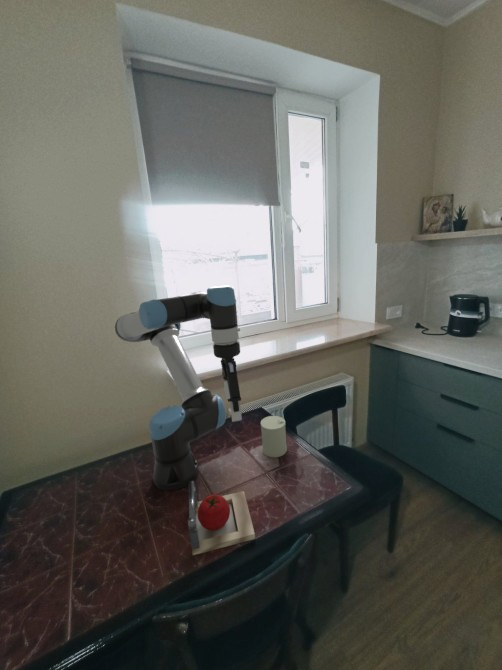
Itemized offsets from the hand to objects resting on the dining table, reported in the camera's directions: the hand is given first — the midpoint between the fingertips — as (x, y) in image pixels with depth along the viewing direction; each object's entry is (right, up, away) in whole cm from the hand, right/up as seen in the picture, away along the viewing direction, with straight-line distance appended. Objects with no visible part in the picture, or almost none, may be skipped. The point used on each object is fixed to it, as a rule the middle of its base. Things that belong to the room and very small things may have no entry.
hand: (233, 408), depth 88 cm
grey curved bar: (-10, -29, -9) cm, 32 cm away
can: (+14, -21, +22) cm, 34 cm away
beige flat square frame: (-3, -30, -7) cm, 31 cm away
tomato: (-4, -30, -7) cm, 31 cm away
